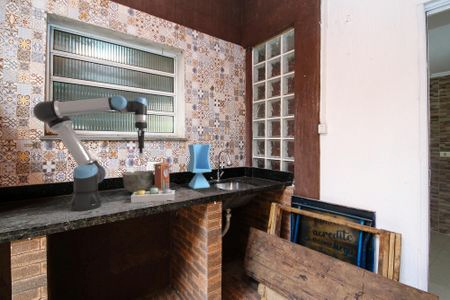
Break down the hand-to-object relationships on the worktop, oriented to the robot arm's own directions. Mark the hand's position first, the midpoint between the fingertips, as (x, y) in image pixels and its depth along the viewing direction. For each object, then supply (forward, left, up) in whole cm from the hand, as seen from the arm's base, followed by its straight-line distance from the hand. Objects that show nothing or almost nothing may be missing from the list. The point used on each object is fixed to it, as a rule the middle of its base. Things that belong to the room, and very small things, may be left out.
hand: (141, 158), depth 146 cm
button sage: (+8, -4, -23) cm, 24 cm away
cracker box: (+12, +17, -27) cm, 34 cm away
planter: (+41, +31, -27) cm, 58 cm away
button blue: (+16, -4, -24) cm, 29 cm away
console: (+8, -4, -26) cm, 28 cm away
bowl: (-5, +19, -27) cm, 33 cm away
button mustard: (0, -4, -24) cm, 24 cm away
